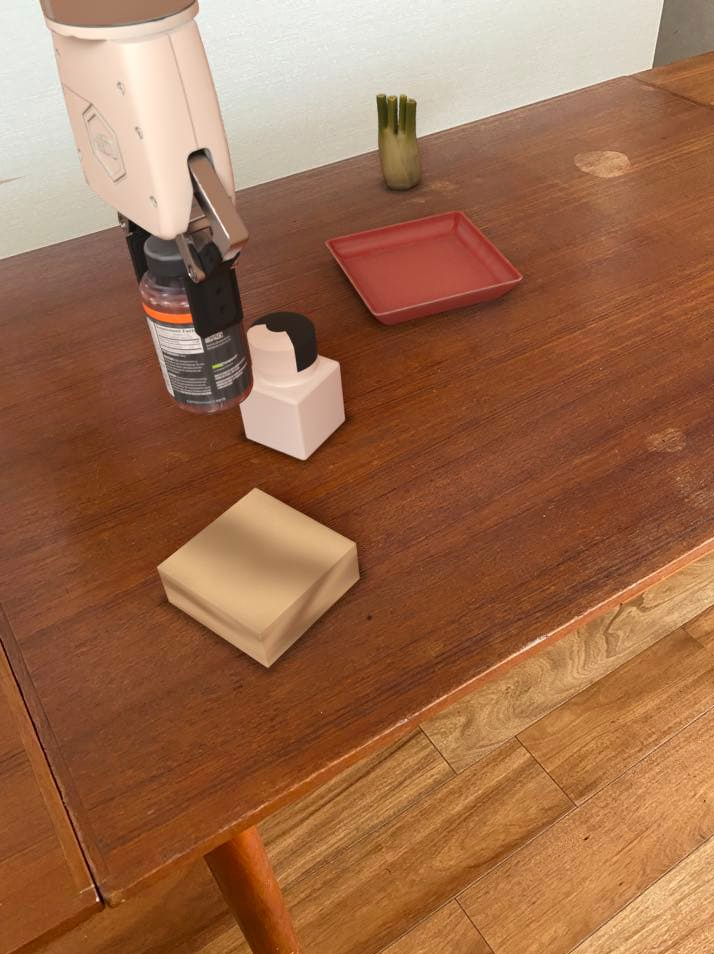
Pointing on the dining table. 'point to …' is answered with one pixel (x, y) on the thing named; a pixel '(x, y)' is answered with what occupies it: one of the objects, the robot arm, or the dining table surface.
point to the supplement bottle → (191, 337)
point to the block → (260, 575)
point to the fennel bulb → (398, 142)
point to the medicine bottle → (291, 386)
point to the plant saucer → (423, 267)
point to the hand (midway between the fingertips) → (191, 304)
